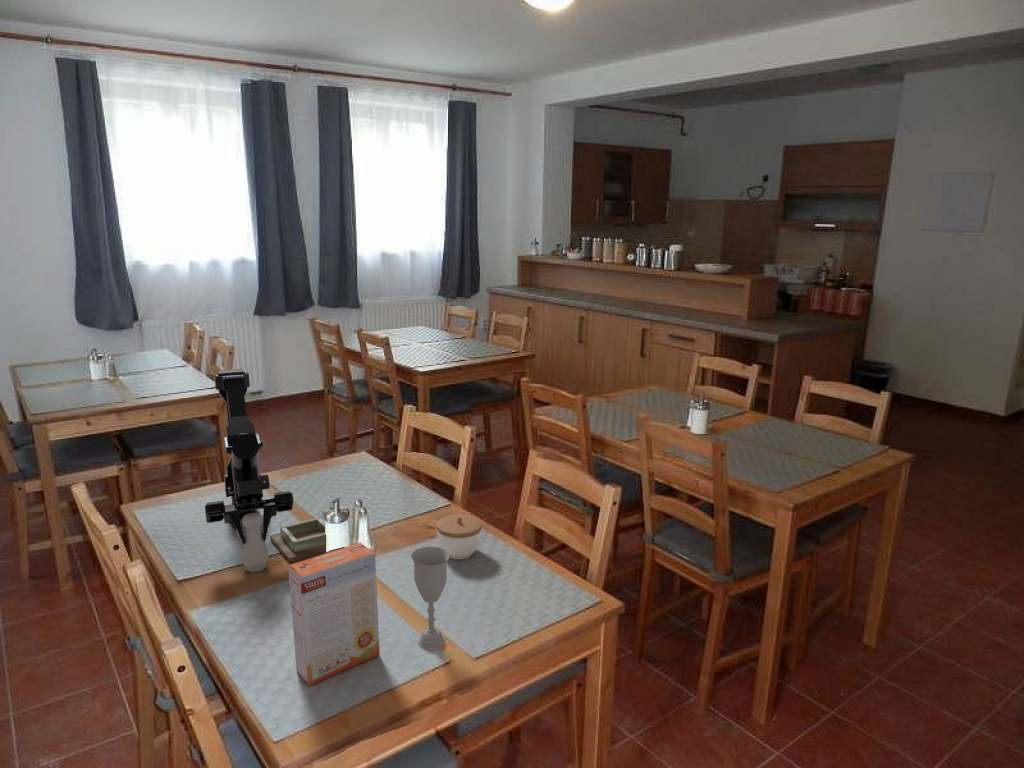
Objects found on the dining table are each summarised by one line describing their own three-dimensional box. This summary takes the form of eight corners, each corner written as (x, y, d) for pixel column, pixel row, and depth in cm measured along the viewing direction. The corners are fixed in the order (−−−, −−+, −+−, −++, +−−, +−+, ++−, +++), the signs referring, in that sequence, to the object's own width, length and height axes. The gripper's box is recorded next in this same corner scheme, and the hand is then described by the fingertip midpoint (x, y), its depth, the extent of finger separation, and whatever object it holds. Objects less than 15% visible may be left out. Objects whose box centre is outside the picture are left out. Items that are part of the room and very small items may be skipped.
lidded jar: (453, 569, 159) (453, 531, 157) (428, 551, 167) (427, 515, 165) (490, 555, 166) (491, 519, 164) (464, 538, 174) (464, 504, 172)
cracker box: (365, 640, 132) (361, 540, 127) (380, 656, 128) (377, 552, 123) (294, 669, 123) (286, 563, 118) (308, 687, 119) (301, 577, 114)
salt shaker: (241, 575, 155) (236, 521, 151) (243, 563, 160) (239, 511, 157) (268, 572, 156) (264, 519, 153) (270, 560, 162) (266, 508, 158)
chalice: (405, 640, 132) (403, 554, 128) (433, 626, 137) (432, 543, 133) (429, 658, 127) (427, 569, 123) (457, 642, 132) (457, 556, 128)
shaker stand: (270, 539, 171) (269, 526, 171) (325, 525, 179) (324, 512, 179) (289, 562, 160) (288, 548, 160) (346, 546, 169) (346, 532, 168)
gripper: (201, 469, 152) (207, 536, 145) (289, 458, 160) (299, 521, 153) (203, 489, 161) (209, 554, 154) (287, 478, 168) (296, 539, 161)
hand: (254, 542), depth 155 cm, fingers open, 4 cm apart
